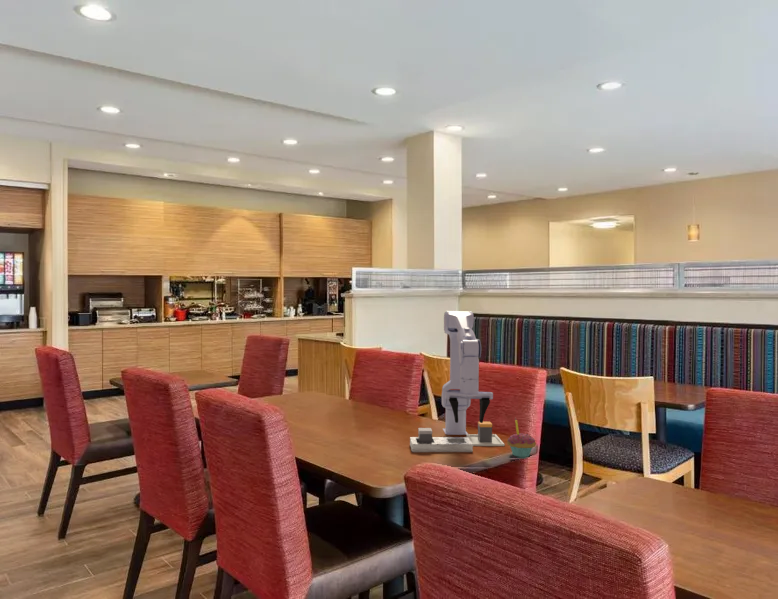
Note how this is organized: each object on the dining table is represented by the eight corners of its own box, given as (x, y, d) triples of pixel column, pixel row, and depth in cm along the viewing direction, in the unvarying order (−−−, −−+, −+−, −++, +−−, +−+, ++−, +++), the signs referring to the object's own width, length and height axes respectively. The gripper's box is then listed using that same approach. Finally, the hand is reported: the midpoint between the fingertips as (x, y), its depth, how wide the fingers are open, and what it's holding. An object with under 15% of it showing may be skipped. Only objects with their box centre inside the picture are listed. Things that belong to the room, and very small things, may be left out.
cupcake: (514, 461, 183) (515, 421, 183) (502, 453, 191) (502, 415, 191) (540, 459, 185) (541, 419, 185) (527, 452, 193) (527, 414, 193)
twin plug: (418, 446, 197) (418, 427, 197) (430, 446, 197) (430, 427, 197) (419, 449, 193) (419, 430, 193) (432, 450, 193) (432, 430, 193)
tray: (466, 437, 211) (466, 434, 211) (496, 437, 212) (496, 434, 212) (472, 447, 198) (472, 444, 198) (504, 447, 198) (504, 444, 198)
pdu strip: (409, 446, 199) (410, 437, 199) (467, 446, 200) (468, 437, 200) (411, 453, 190) (411, 444, 190) (472, 453, 191) (472, 444, 191)
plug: (477, 439, 207) (477, 421, 207) (489, 439, 207) (489, 421, 207) (479, 442, 203) (480, 424, 203) (492, 442, 203) (492, 424, 203)
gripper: (447, 380, 185) (447, 424, 185) (495, 380, 186) (494, 425, 186) (444, 376, 192) (444, 419, 192) (490, 377, 193) (490, 420, 193)
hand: (468, 422), depth 190 cm, fingers open, 7 cm apart
